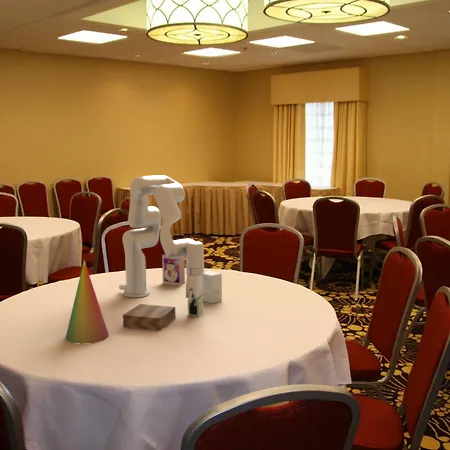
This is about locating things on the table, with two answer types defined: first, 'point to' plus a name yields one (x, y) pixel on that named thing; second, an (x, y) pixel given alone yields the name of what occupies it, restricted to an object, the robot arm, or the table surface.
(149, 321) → the walnut base
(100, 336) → the decorative cone
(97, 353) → the table surface
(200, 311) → the sage block
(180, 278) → the greeting card
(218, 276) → the small box
